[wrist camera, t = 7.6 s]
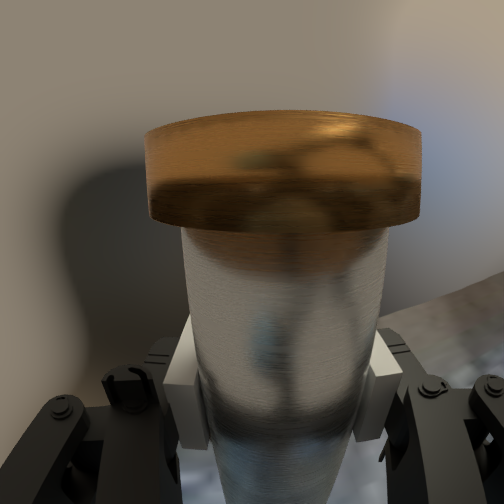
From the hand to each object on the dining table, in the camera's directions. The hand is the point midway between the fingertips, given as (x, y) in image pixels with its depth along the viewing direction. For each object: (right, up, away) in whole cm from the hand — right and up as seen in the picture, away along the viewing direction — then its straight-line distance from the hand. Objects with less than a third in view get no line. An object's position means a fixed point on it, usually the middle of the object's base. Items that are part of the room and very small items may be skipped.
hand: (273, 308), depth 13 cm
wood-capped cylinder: (0, -9, -3) cm, 9 cm away
